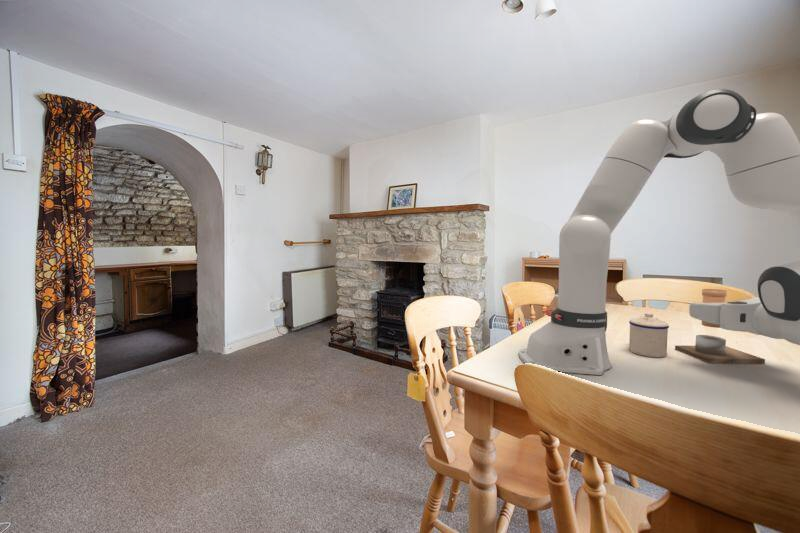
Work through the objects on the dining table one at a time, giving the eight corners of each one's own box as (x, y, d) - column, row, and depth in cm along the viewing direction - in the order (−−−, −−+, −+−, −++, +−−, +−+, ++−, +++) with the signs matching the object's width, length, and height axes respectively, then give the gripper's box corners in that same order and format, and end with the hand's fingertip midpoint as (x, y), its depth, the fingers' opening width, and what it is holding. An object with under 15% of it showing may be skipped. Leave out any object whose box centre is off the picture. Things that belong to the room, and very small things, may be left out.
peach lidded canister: (711, 327, 86) (713, 291, 85) (695, 323, 91) (697, 288, 90) (730, 327, 86) (731, 291, 85) (713, 323, 91) (715, 288, 90)
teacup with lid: (676, 358, 88) (678, 316, 87) (641, 357, 88) (642, 316, 88) (646, 344, 99) (647, 308, 99) (615, 344, 100) (617, 307, 99)
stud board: (708, 363, 84) (709, 343, 84) (675, 349, 95) (675, 332, 94) (764, 363, 83) (766, 344, 83) (724, 349, 94) (725, 332, 94)
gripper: (812, 303, 74) (750, 294, 88) (720, 303, 75) (673, 294, 89) (810, 329, 75) (749, 316, 89) (718, 329, 76) (672, 316, 90)
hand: (710, 305), depth 89 cm, fingers closed on peach lidded canister, 4 cm apart
